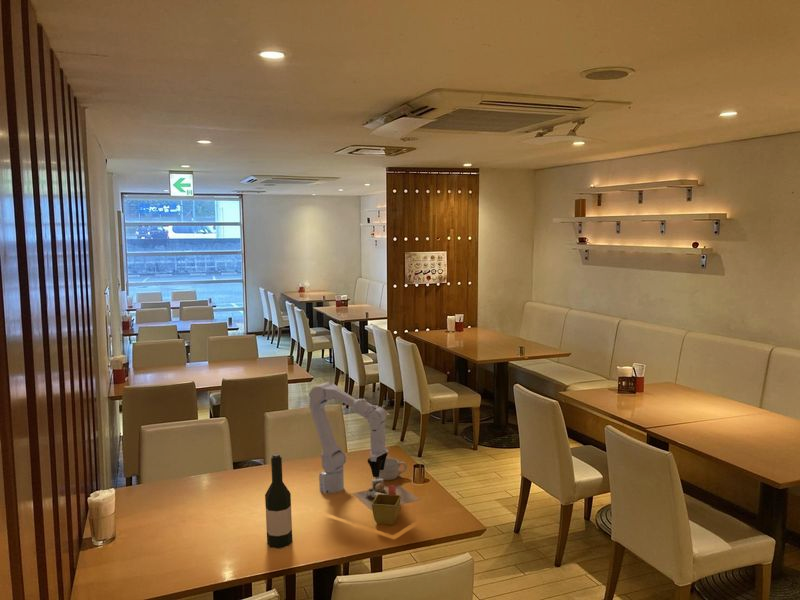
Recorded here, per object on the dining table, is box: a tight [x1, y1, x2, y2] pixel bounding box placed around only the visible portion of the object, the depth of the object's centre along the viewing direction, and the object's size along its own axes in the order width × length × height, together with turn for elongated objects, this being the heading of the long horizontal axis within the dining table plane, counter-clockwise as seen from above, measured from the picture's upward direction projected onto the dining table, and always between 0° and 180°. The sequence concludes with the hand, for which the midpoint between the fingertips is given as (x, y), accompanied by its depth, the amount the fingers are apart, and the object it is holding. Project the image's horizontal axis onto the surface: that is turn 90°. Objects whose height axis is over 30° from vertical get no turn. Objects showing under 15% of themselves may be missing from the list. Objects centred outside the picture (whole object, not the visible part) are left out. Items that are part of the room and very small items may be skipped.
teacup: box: [375, 457, 408, 482], centre depth 255 cm, size 14×11×8 cm
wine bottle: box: [264, 453, 293, 549], centre depth 201 cm, size 8×8×30 cm
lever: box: [366, 484, 396, 498], centre depth 232 cm, size 13×3×6 cm, turn 57°
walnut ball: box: [375, 483, 385, 493], centre depth 239 cm, size 4×4×4 cm
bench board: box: [351, 483, 421, 512], centre depth 235 cm, size 20×19×1 cm
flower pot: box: [371, 494, 401, 526], centre depth 213 cm, size 9×9×9 cm
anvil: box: [371, 478, 385, 491], centre depth 242 cm, size 4×2×4 cm, turn 108°
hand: (378, 473), depth 235 cm, fingers open, 7 cm apart
